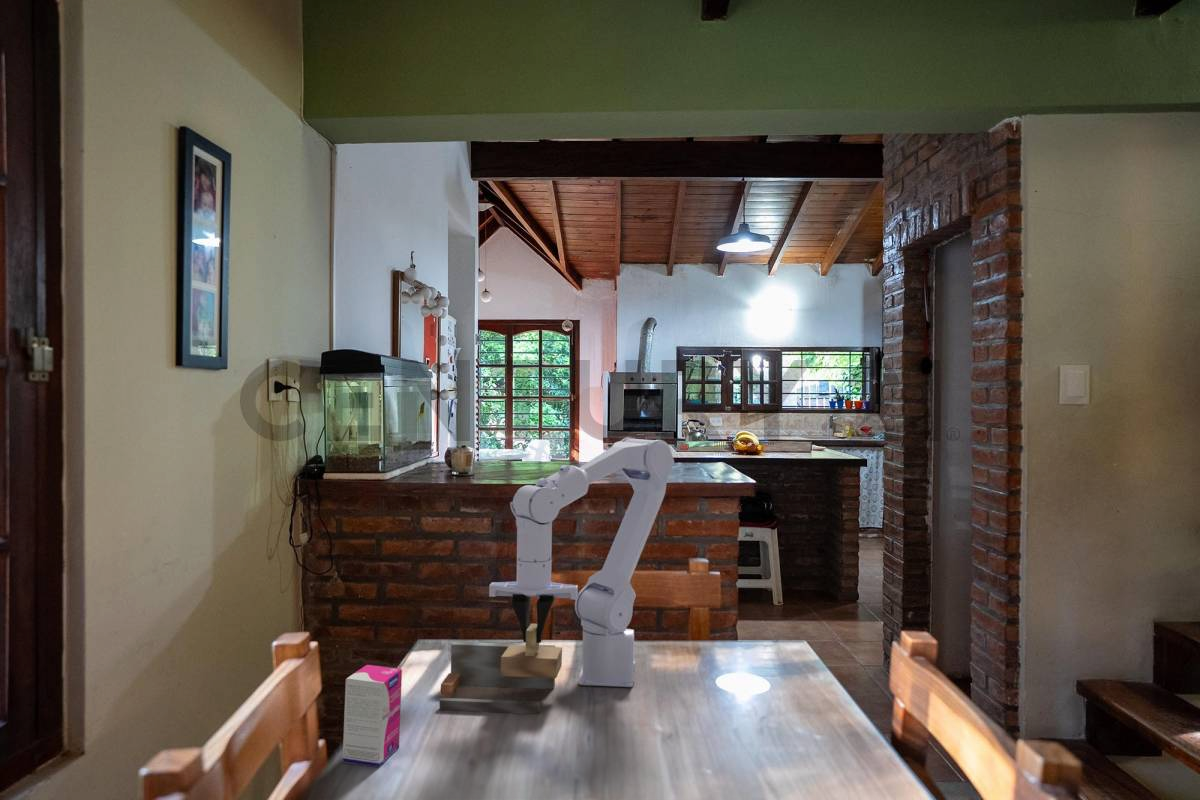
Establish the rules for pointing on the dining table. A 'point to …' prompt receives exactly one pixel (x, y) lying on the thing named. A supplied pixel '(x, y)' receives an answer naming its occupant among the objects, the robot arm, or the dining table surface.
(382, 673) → the supplement box
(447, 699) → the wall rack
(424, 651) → the dining table surface
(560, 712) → the dining table surface
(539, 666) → the tan box with handle
